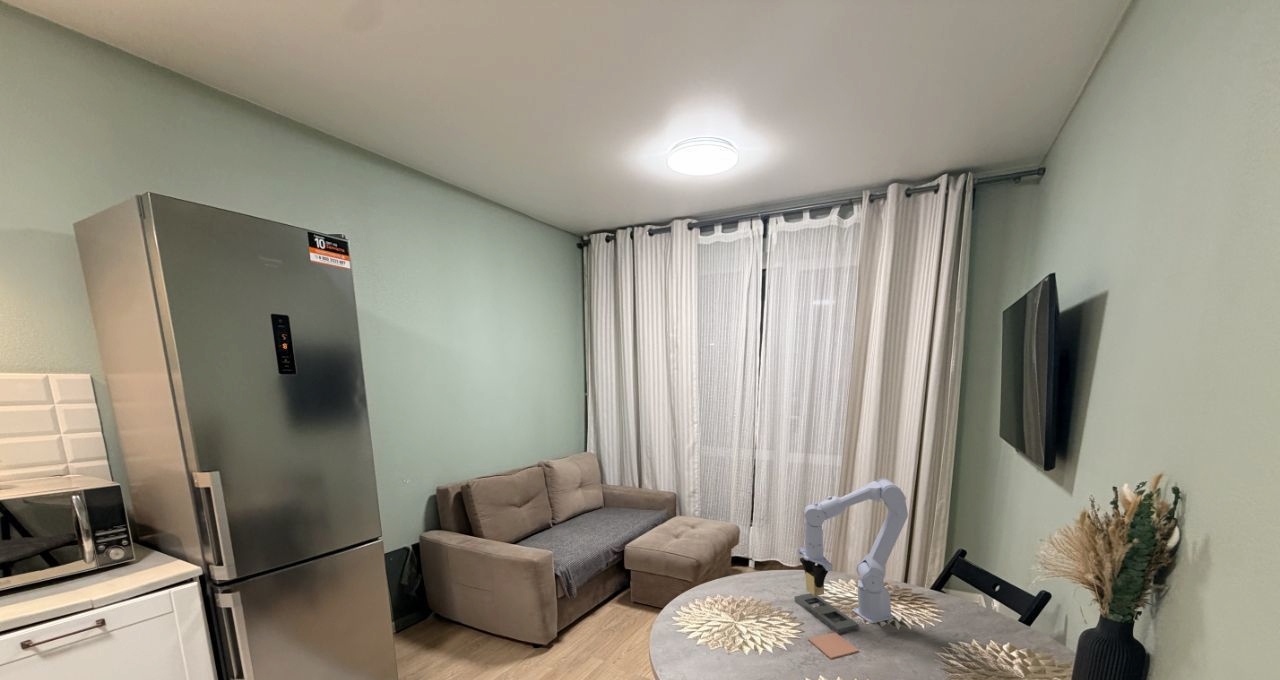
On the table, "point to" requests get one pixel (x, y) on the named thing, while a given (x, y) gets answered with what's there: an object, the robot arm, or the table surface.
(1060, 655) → the table surface
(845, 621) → the metal rail
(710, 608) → the table surface
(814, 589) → the cube with round inset
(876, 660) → the table surface
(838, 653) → the terracotta mat
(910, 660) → the table surface
